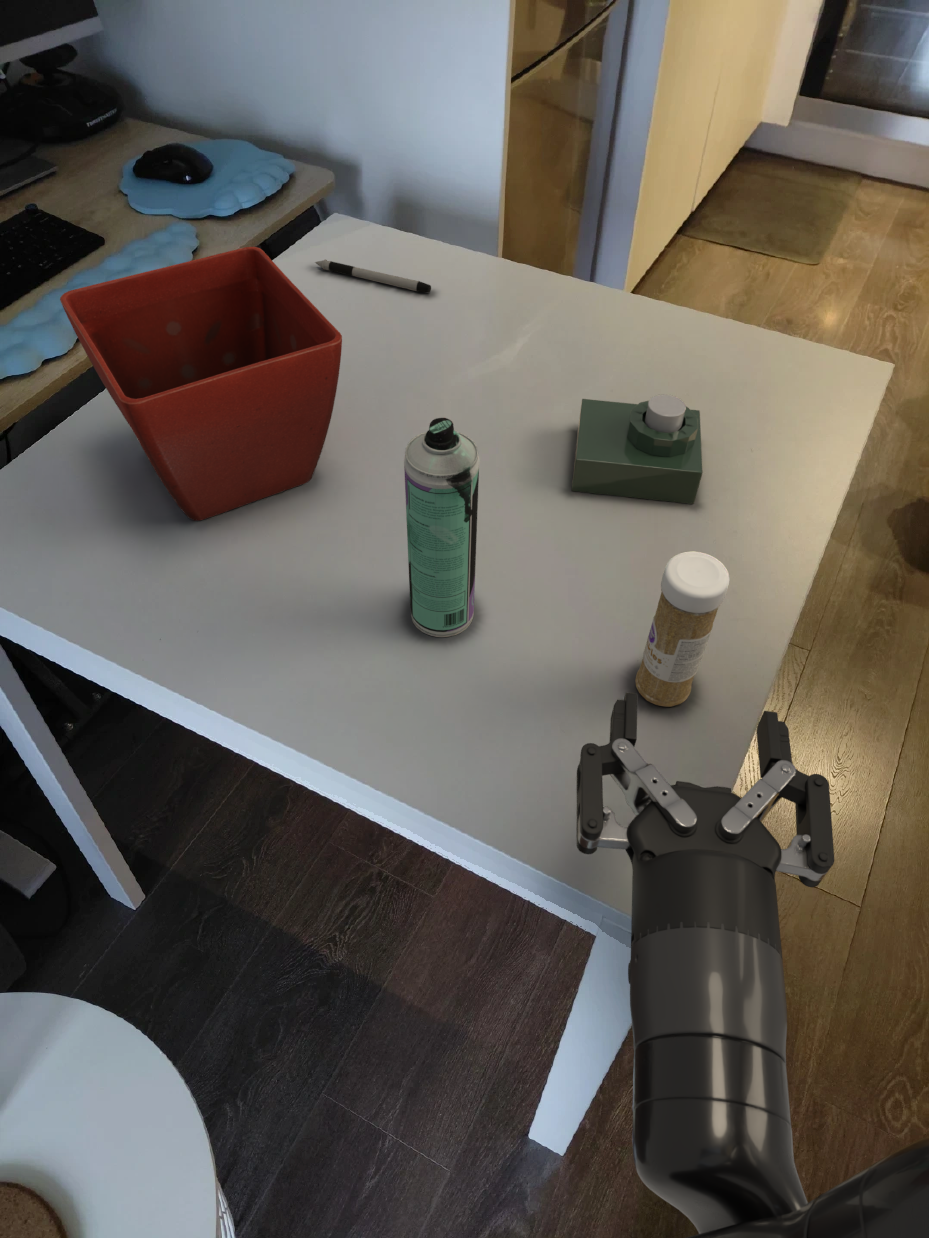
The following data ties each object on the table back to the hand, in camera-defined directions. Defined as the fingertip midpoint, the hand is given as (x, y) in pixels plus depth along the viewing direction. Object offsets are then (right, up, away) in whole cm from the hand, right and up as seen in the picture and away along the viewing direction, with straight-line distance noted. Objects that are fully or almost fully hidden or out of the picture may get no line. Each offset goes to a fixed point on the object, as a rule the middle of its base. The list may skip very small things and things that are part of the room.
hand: (697, 709), depth 56 cm
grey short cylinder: (+5, +25, +31) cm, 40 cm away
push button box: (+3, +21, +35) cm, 41 cm away
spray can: (-17, +6, +22) cm, 28 cm away
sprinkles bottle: (+2, 0, +17) cm, 17 cm away
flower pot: (-38, +21, +34) cm, 55 cm away
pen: (-26, +49, +59) cm, 81 cm away
